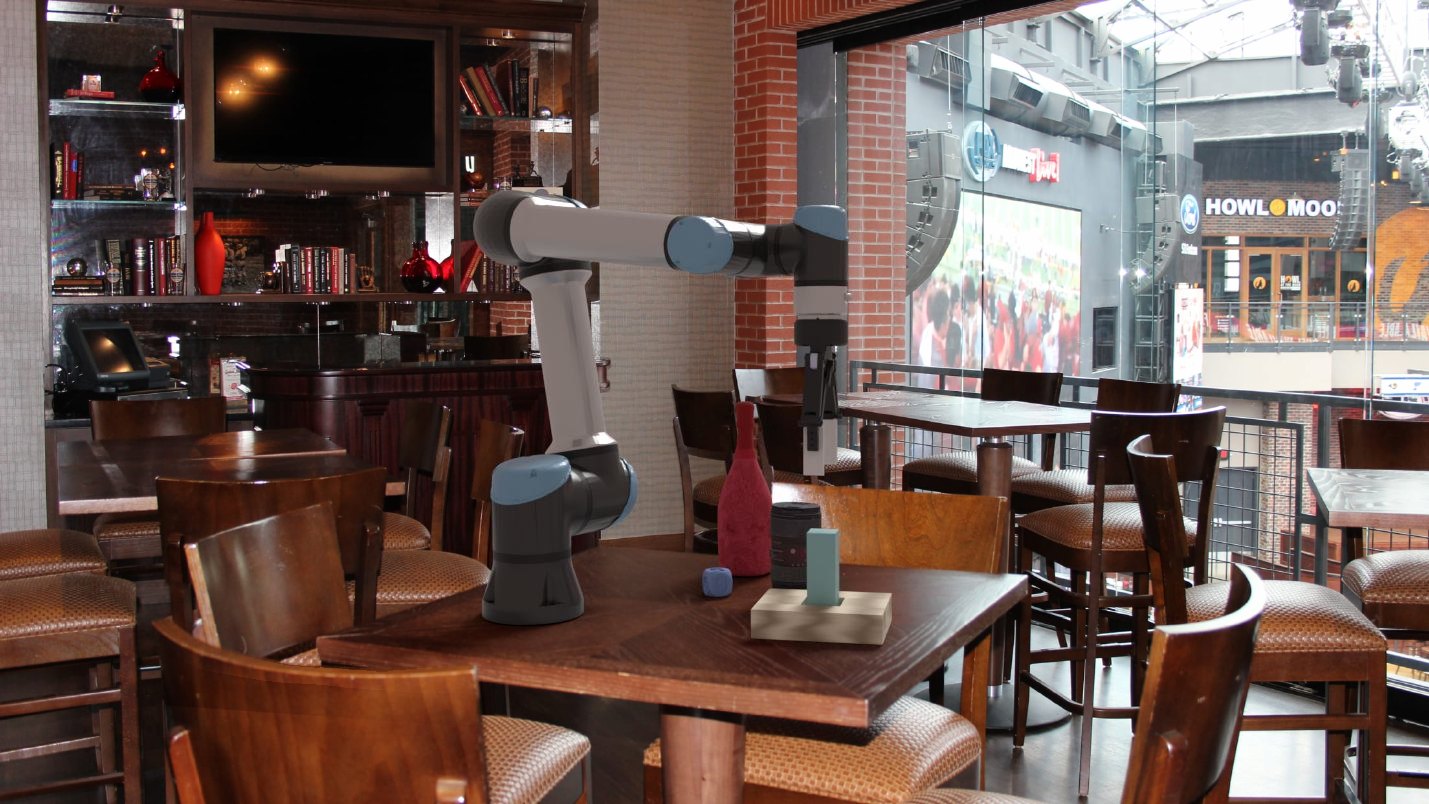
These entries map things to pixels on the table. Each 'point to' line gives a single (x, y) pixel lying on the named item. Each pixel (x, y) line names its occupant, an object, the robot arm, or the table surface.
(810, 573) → the peg
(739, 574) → the wine bottle
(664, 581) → the table surface
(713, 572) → the decorative dice
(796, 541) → the camera lens
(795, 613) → the socket block
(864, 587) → the table surface
